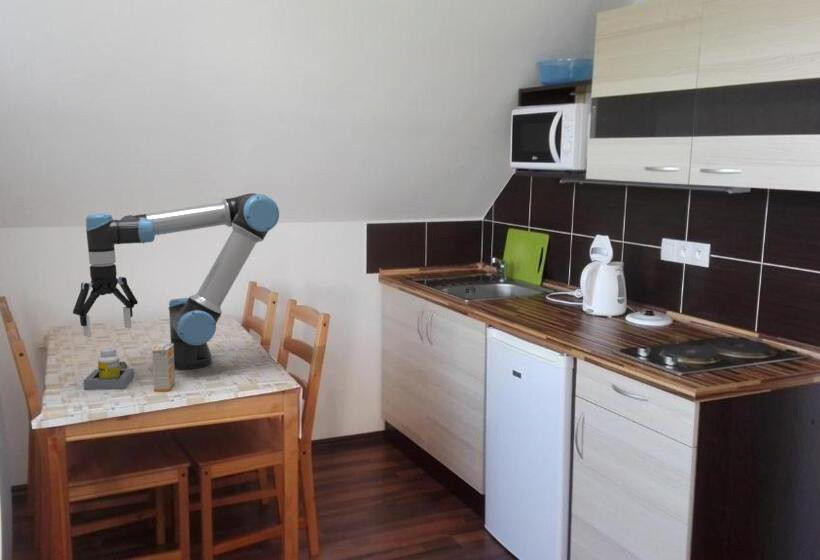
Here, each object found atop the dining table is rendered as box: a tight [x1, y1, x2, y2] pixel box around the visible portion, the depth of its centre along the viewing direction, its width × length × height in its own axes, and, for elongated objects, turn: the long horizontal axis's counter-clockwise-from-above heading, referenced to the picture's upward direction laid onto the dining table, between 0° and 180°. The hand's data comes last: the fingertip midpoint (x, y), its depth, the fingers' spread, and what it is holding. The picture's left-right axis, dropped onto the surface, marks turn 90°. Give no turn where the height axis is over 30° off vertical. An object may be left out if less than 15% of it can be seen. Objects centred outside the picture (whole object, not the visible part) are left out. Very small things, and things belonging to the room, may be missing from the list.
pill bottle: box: [97, 347, 121, 378], centre depth 234 cm, size 6×6×11 cm
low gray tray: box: [83, 361, 135, 391], centre depth 240 cm, size 22×12×3 cm, turn 7°
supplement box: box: [151, 343, 176, 392], centre depth 230 cm, size 8×5×13 cm, turn 5°
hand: (108, 331), depth 233 cm, fingers open, 13 cm apart
